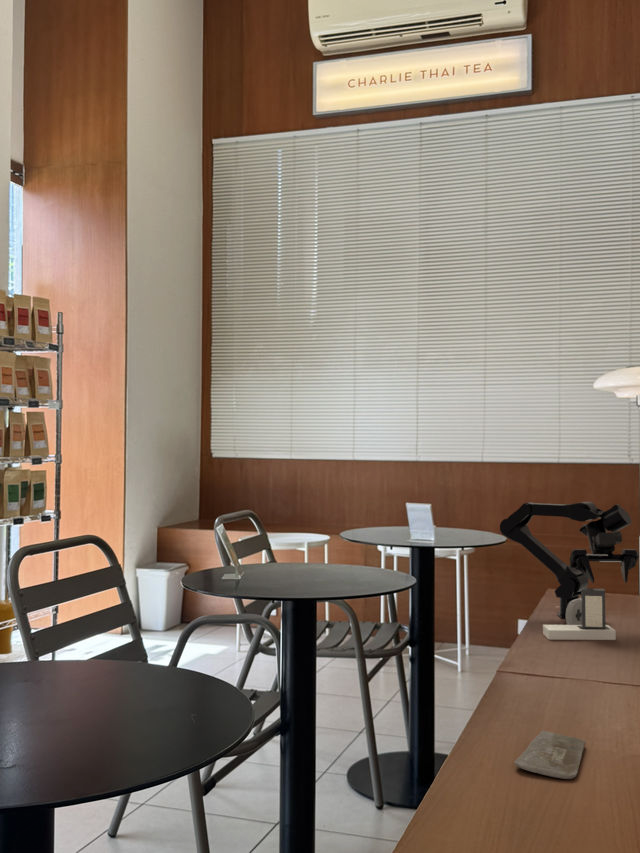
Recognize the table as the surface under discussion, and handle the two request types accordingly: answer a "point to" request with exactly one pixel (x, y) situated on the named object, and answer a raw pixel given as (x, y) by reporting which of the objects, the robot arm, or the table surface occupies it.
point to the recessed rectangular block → (577, 633)
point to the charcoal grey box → (593, 608)
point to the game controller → (574, 612)
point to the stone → (552, 755)
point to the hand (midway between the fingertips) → (609, 582)
